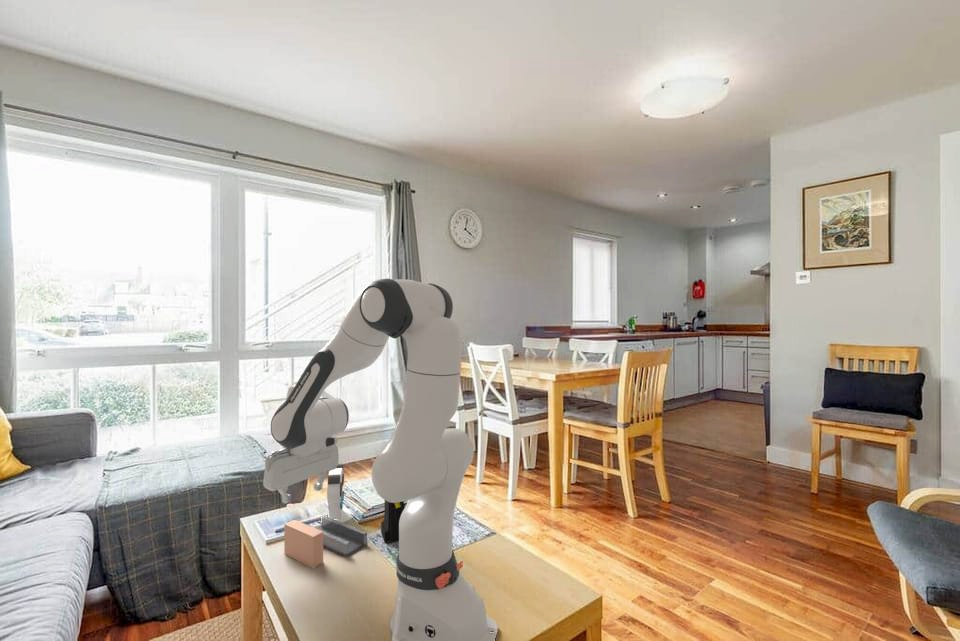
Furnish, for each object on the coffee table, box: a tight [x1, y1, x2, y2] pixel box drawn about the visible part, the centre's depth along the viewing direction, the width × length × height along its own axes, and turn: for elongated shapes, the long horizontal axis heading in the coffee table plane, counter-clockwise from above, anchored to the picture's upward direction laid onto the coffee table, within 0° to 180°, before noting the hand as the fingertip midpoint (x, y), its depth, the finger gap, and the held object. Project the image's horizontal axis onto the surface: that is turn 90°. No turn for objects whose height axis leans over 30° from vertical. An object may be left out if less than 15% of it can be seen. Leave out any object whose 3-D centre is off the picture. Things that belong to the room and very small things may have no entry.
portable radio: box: [380, 500, 405, 543], centre depth 127 cm, size 8×6×25 cm
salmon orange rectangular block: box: [283, 519, 324, 569], centre depth 116 cm, size 12×3×8 cm, turn 57°
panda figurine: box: [326, 463, 354, 524], centre depth 139 cm, size 12×11×15 cm
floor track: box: [306, 516, 368, 558], centre depth 124 cm, size 18×7×4 cm, turn 57°
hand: (302, 495), depth 116 cm, fingers open, 8 cm apart
